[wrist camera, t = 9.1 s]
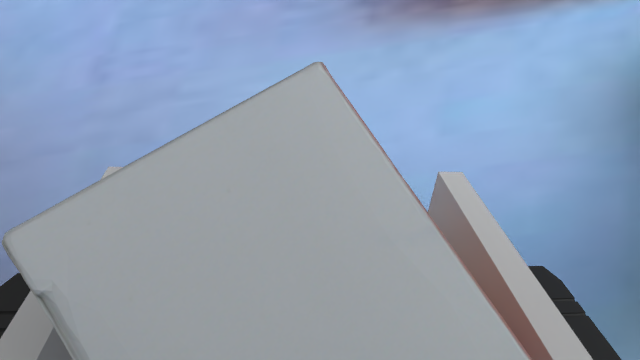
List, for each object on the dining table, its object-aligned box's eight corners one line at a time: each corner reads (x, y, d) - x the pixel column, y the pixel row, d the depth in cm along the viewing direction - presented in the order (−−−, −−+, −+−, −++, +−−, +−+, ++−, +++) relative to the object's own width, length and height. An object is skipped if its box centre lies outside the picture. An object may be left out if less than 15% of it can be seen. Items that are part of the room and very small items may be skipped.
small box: (406, 354, 16) (638, 493, 6) (281, 450, 15) (308, 828, 5) (291, 180, 17) (324, 44, 7) (166, 258, 16) (-18, 232, 6)
